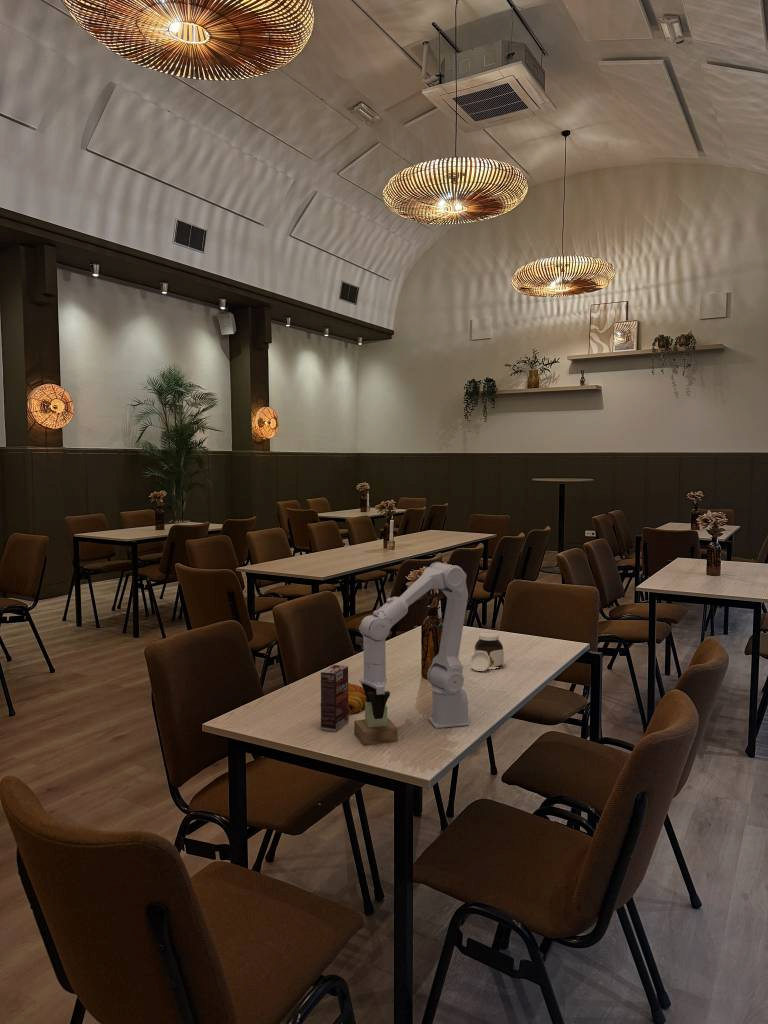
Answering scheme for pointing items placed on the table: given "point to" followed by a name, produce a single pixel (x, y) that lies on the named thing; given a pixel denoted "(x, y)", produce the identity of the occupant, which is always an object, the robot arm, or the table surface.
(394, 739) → the block
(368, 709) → the cube
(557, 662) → the table surface
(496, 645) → the spread jar
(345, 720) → the supplement box
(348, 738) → the table surface
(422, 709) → the table surface
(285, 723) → the table surface
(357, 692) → the croissant
